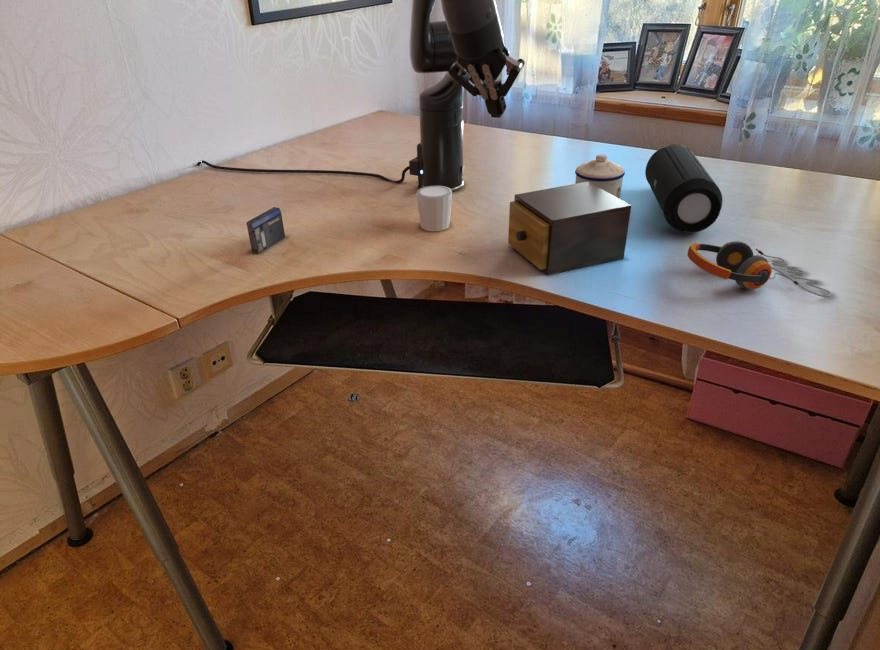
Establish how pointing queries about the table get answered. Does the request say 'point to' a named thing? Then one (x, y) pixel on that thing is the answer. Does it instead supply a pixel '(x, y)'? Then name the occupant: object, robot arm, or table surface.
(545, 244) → the wooden drawer
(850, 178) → the table surface
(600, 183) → the teacup with lid
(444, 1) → the robot arm
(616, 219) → the cabinet
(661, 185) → the portable speaker
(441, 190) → the white faceted cylinder
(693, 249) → the headphones
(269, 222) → the mini dv tape
